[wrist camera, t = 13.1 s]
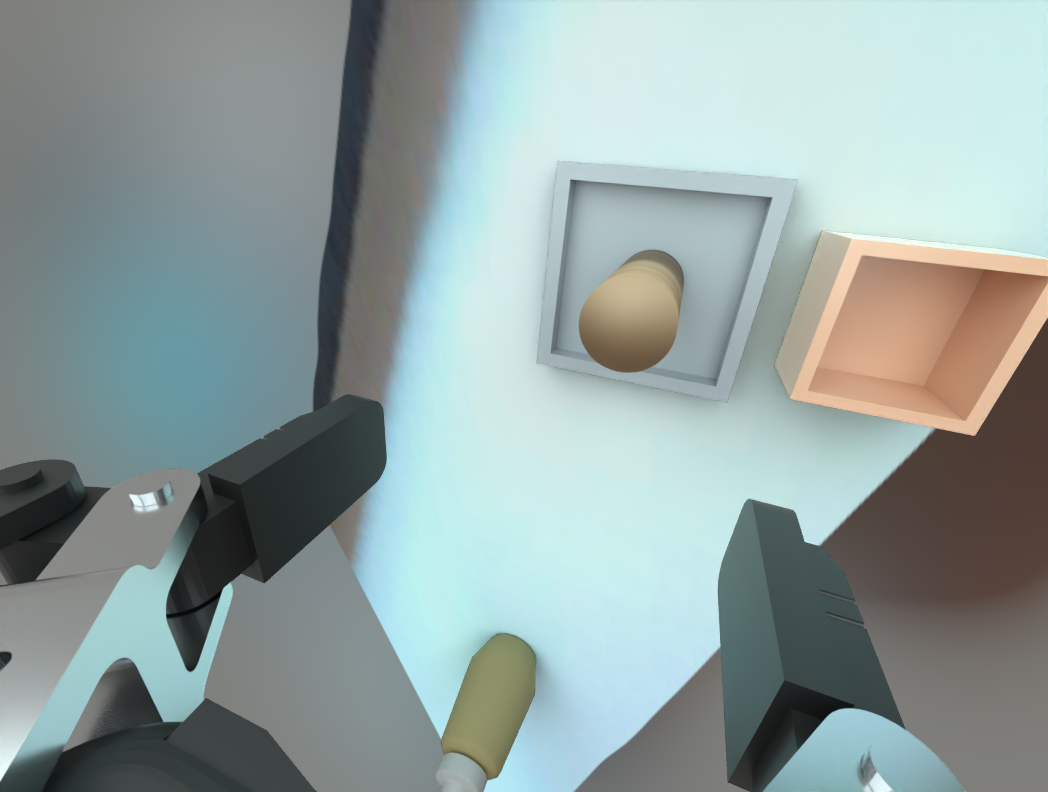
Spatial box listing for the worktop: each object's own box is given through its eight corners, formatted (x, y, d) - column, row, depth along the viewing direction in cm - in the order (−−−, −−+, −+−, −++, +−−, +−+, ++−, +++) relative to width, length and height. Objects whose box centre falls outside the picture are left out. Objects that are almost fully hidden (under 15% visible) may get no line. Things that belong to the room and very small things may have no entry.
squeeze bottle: (549, 641, 50) (484, 839, 35) (540, 684, 54) (477, 880, 38) (484, 615, 52) (395, 791, 37) (480, 658, 56) (397, 834, 41)
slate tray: (566, 163, 30) (557, 160, 28) (790, 180, 27) (798, 179, 25) (545, 354, 37) (536, 363, 35) (725, 390, 33) (727, 402, 31)
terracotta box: (822, 230, 27) (851, 238, 22) (1000, 249, 25) (1080, 263, 20) (774, 365, 31) (789, 398, 26) (924, 392, 29) (974, 435, 23)
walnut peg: (623, 245, 30) (586, 270, 20) (691, 254, 29) (688, 286, 19) (612, 309, 32) (572, 362, 22) (675, 320, 31) (664, 381, 21)
